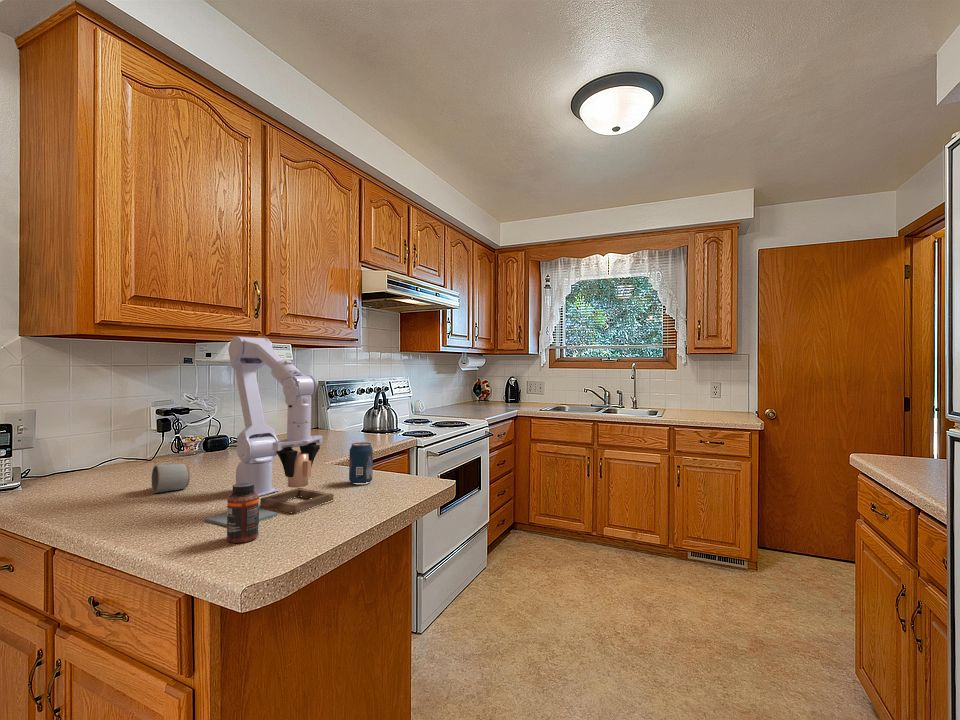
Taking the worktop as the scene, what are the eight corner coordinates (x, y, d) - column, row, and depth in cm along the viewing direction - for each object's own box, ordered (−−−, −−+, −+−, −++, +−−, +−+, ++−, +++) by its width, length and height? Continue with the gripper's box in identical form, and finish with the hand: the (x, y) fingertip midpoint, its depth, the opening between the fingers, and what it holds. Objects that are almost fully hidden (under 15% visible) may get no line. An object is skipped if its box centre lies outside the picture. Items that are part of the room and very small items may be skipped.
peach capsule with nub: (283, 485, 123) (283, 454, 124) (298, 481, 128) (299, 451, 128) (301, 489, 120) (301, 457, 120) (316, 485, 125) (317, 454, 125)
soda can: (351, 480, 150) (351, 442, 150) (373, 480, 151) (374, 442, 151) (347, 486, 143) (347, 445, 143) (370, 485, 144) (371, 445, 144)
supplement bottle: (263, 533, 102) (264, 480, 103) (251, 544, 97) (252, 487, 97) (235, 533, 102) (236, 480, 102) (220, 544, 96) (222, 487, 96)
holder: (260, 506, 122) (260, 498, 122) (299, 494, 133) (299, 487, 133) (295, 514, 116) (295, 505, 116) (333, 501, 127) (333, 493, 127)
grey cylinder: (191, 490, 136) (191, 463, 136) (157, 495, 130) (158, 467, 130) (179, 484, 143) (180, 458, 144) (147, 489, 137) (147, 462, 138)
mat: (204, 520, 110) (204, 518, 110) (247, 508, 120) (247, 506, 120) (235, 529, 105) (235, 526, 105) (277, 515, 115) (277, 512, 115)
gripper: (286, 426, 116) (285, 482, 116) (331, 420, 129) (330, 471, 129) (267, 424, 120) (266, 478, 120) (312, 418, 132) (311, 468, 132)
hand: (298, 474), depth 125 cm, fingers closed on peach capsule with nub, 5 cm apart
